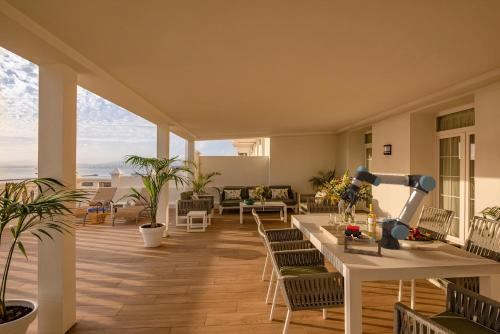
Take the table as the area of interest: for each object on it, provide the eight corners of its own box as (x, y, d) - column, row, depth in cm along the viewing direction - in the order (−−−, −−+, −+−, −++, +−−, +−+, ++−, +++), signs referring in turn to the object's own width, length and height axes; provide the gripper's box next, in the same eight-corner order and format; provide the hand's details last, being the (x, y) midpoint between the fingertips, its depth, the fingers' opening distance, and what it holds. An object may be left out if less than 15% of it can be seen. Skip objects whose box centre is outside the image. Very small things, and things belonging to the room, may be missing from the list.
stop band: (354, 240, 230) (354, 236, 230) (354, 241, 227) (354, 237, 227) (352, 240, 230) (353, 236, 230) (352, 241, 227) (352, 237, 227)
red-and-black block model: (343, 230, 262) (345, 224, 285) (343, 240, 262) (345, 233, 285) (360, 232, 256) (361, 226, 279) (360, 242, 256) (361, 235, 280)
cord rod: (379, 243, 223) (379, 239, 223) (379, 244, 220) (379, 240, 220) (346, 239, 232) (346, 235, 232) (345, 240, 229) (345, 236, 229)
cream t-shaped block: (375, 243, 225) (375, 230, 224) (375, 245, 221) (375, 232, 220) (369, 242, 226) (369, 230, 226) (369, 244, 222) (369, 231, 222)
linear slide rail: (380, 253, 225) (381, 238, 225) (380, 257, 218) (381, 241, 217) (344, 249, 235) (345, 235, 235) (343, 252, 228) (344, 237, 227)
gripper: (343, 180, 241) (332, 203, 242) (359, 186, 217) (346, 212, 218) (351, 184, 243) (339, 207, 244) (368, 190, 218) (355, 215, 219)
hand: (343, 209), depth 231 cm, fingers open, 13 cm apart
